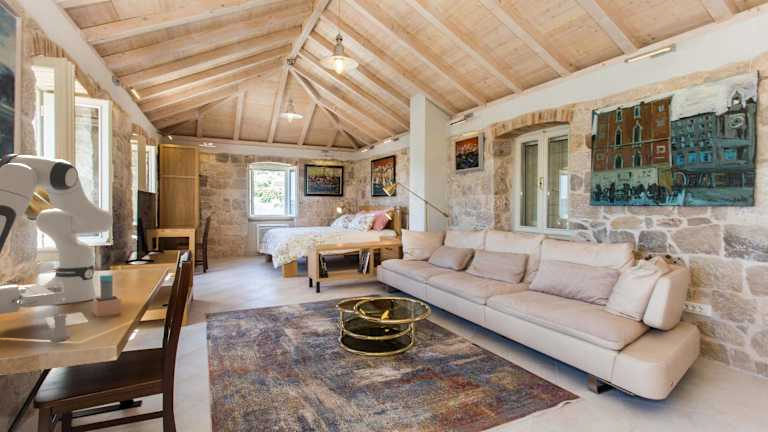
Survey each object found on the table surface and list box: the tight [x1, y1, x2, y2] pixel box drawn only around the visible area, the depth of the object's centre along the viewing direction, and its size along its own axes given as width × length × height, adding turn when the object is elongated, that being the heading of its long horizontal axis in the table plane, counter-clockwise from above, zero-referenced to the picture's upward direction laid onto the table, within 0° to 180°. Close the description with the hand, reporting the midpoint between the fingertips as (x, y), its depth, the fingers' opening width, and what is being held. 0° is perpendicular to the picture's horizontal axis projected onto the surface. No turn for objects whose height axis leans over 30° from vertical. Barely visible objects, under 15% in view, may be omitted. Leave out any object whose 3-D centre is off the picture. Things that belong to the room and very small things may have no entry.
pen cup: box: [92, 295, 122, 318], centre depth 139 cm, size 7×7×6 cm
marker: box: [99, 274, 114, 301], centre depth 139 cm, size 4×4×14 cm
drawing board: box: [45, 311, 89, 329], centre depth 130 cm, size 20×13×1 cm, turn 46°
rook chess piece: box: [50, 312, 70, 344], centre depth 113 cm, size 4×4×8 cm
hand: (65, 291), depth 129 cm, fingers open, 8 cm apart
